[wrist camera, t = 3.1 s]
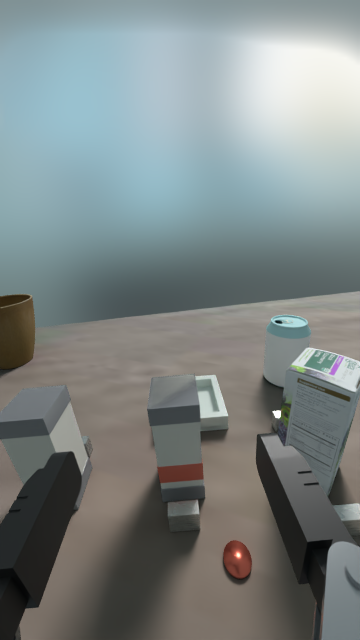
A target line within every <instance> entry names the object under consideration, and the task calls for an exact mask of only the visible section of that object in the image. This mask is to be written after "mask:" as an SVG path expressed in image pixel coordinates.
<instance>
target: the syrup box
mask: <svg viewBox="0 0 360 640" xmlns="http://www.w3.org/2000/svg"><path fill="white" fill-rule="evenodd" d="M359 396H360V362H359V361H357V360H354V359H351V358H348V357H345V356H342V355H339V354H335V353H332V352H328V351H323V350H319V349H314V348H306V349H305V350H304V351H303V352H302V353H301V355H300V356H299V357H298V358H297V359H296V360H295V361H294V362H293V363H292V365H291V366H290V367H289V368H288V369H287V370H286V375H285V383H284V391H283V398H282V405H281V412H280V420H279V427H278V437H279V439H280V440H281V442H282V444H283V446H293V447H294V448H295V449H296V450H297V451H298V452H299V453H300V454H301V455H302V456H303V457H304V458H305V460H306V462H307V463H308V465H309V467H310V468H311V470H312V473H314V475H315V477H316V479H317V480H318V482H319V485H321V487H322V489H323V490H324V492H325V494H326V495H327V497H328V496H329V493H330V490H331V488H332V485H333V482H334V479H335V476H336V473H337V470H338V468H339V465H340V462H341V458H342V455H343V452H344V448H345V445H346V441H347V438H348V434H349V431H350V427H351V424H352V421H353V417H354V414H355V410H356V407H357V403H358V400H359Z"/></svg>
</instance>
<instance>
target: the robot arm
mask: <svg viewBox="0 0 360 640" xmlns="http://www.w3.org/2000/svg"><path fill="white" fill-rule="evenodd" d="M256 464H257V469H258V473H259V476H260V479H261V482H262V484H263V487H264V490H265V493H266V495H267V498H268V501H269V504H270V506H271V509H272V512H273V514H274V517H275V520H276V523H277V525H278V528H279V531H280V534H281V536H282V539H283V542H284V545H285V547H286V550H287V553H288V556H289V558H290V561H291V564H292V566H293V569H294V572H295V575H296V577H297V580H298V583H299V584H306V583H309V584H310V587H311V589H312V592H313V594H314V597H315V599H316V601H315V611H314V621H313V632H312V640H360V546H359V545H358V544H357V543H356V542H355V541H354V539H353V538H352V537H351V535H350V534H349V532H348V530H347V529H346V527H345V525H344V524H343V522H342V520H341V519H340V517H339V515H338V514H337V512H336V510H335V509H334V507H333V505H332V504H331V502H330V500H329V499H328V497H327V495H326V494H325V492H324V490H323V489H322V487H321V485H319V482H318V480H317V479H316V477H315V475H314V473H312V470H311V468H310V467H309V465H308V463H307V462H306V460H305V458H304V457H303V456H302V455H301V454H300V453H299V452H298V451H297V450H296V449H295V448H294V447H293V446H283V444H282V442H281V440H280V439H279V437H278V435H277V434H276V433H267V434H258V435H257V447H256ZM81 485H82V475H81V472H80V469H79V466H78V463H77V460H76V457H75V455H74V452H72V451H68V452H57V453H53V454H52V455H51V456H50V458H49V459H48V461H47V463H46V465H45V467H44V468H41V469H38V470H37V471H36V472H35V473H34V474H33V475H32V476H31V477H30V478H29V479H28V480H27V481H26V483H25V484H24V486H23V488H22V489H21V491H20V493H19V494H18V496H17V499H16V500H15V501H14V503H13V504H12V506H11V508H10V510H9V513H8V514H7V515H6V516H5V518H4V520H3V521H2V523H1V525H0V640H21V635H20V627H19V624H20V621H21V618H22V616H23V613H24V611H25V609H26V608H37V607H39V605H40V602H41V599H42V596H43V593H44V591H45V588H46V585H47V582H48V579H49V577H50V574H51V571H52V568H53V565H54V563H55V560H56V557H57V554H58V552H59V549H60V546H61V543H62V540H63V538H64V535H65V532H66V529H67V526H68V524H69V521H70V518H71V515H72V513H73V510H74V507H75V504H76V501H77V499H78V496H79V493H80V490H81Z"/></svg>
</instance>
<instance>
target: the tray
mask: <svg viewBox="0 0 360 640" xmlns="http://www.w3.org/2000/svg"><path fill="white" fill-rule="evenodd" d="M195 379H196V385H197V391H198V397H199V403H200V418H201V422H200V431H211V430H222V429H228V414H227V411H226V407H225V404H224V401H223V398H222V395H221V391H220V388H219V385H218V382H217V378H216V375H208V376H196V377H195Z"/></svg>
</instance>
